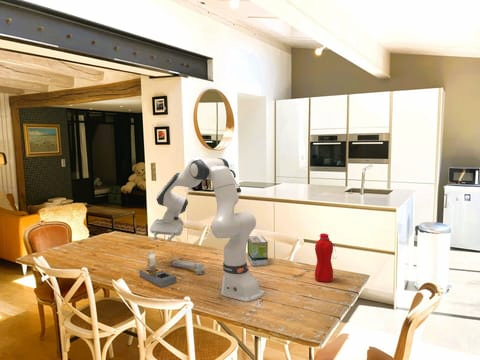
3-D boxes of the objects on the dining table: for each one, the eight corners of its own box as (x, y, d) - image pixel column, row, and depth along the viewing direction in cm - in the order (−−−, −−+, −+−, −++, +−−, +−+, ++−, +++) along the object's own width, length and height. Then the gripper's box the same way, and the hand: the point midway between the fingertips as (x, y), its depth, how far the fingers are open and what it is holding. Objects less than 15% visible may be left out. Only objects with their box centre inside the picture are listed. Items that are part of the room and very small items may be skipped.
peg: (157, 276, 203) (156, 252, 202) (151, 278, 201) (149, 254, 199) (153, 274, 206) (152, 251, 205) (147, 276, 203) (146, 252, 202)
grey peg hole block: (176, 282, 195) (176, 276, 194) (162, 287, 188) (161, 280, 188) (153, 271, 211) (153, 265, 210) (139, 276, 205) (139, 269, 204)
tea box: (268, 265, 218) (268, 241, 217) (251, 266, 217) (251, 242, 215) (262, 257, 233) (262, 234, 231) (247, 258, 231) (246, 235, 230)
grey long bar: (176, 258, 223) (205, 260, 207) (178, 269, 223) (207, 272, 207) (170, 260, 219) (199, 263, 203) (171, 271, 219) (200, 275, 203)
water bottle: (335, 284, 189) (335, 237, 186) (313, 281, 193) (314, 235, 190) (336, 277, 197) (337, 232, 194) (316, 275, 201) (316, 231, 198)
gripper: (152, 216, 221) (144, 236, 213) (182, 218, 214) (174, 238, 206) (157, 221, 226) (148, 241, 218) (186, 224, 218) (178, 244, 211)
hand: (161, 240), depth 212 cm, fingers open, 8 cm apart
